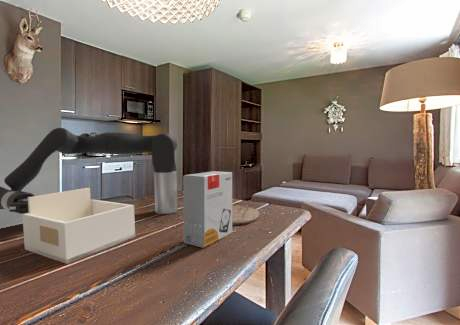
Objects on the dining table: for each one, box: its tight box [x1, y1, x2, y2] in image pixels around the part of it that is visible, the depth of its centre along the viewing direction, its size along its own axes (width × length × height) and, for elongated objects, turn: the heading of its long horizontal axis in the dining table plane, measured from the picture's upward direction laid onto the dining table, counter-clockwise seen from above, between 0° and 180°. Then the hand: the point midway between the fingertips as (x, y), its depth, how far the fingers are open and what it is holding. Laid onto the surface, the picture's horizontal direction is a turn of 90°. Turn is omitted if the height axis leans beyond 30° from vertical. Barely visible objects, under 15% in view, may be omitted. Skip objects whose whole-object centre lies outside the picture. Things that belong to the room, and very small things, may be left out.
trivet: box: [232, 204, 260, 227], centre depth 104 cm, size 25×25×2 cm
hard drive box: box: [182, 170, 233, 249], centre depth 79 cm, size 16×8×20 cm, turn 148°
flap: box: [28, 187, 92, 222], centre depth 81 cm, size 1×18×12 cm, turn 152°
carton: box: [22, 199, 136, 265], centre depth 77 cm, size 20×21×10 cm
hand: (45, 207), depth 86 cm, fingers closed
